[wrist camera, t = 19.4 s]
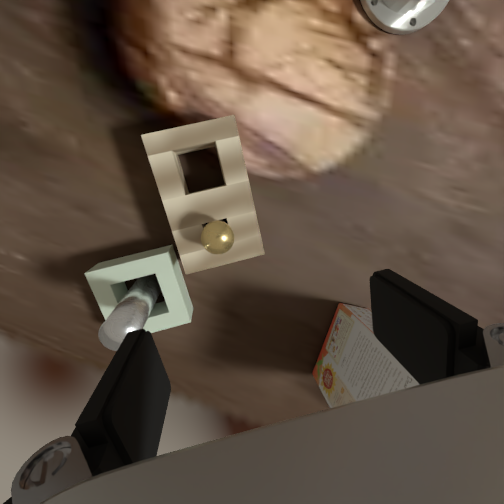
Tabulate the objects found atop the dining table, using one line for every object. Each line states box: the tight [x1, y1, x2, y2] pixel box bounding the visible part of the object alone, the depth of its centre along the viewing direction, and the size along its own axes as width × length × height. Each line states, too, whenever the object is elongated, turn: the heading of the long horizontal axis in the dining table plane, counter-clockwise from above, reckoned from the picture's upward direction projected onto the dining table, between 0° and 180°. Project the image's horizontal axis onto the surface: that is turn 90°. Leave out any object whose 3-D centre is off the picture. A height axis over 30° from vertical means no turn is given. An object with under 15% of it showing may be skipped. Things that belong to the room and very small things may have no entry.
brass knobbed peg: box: [201, 219, 234, 255], centre depth 32 cm, size 4×4×8 cm
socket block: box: [141, 115, 265, 274], centre depth 32 cm, size 16×10×5 cm, turn 13°
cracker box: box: [312, 303, 420, 408], centre depth 34 cm, size 14×6×21 cm, turn 164°
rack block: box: [84, 245, 193, 333], centre depth 34 cm, size 10×10×4 cm
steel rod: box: [99, 274, 161, 351], centre depth 31 cm, size 4×4×12 cm
